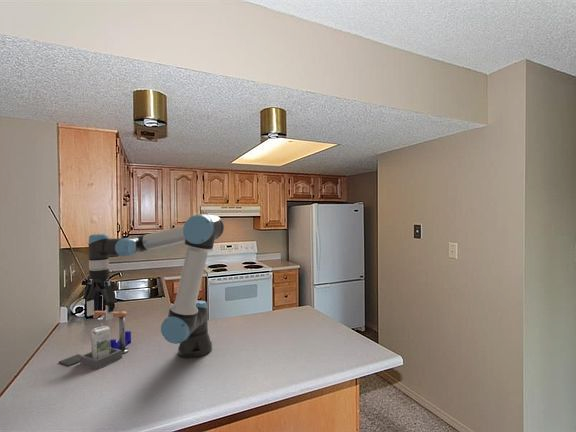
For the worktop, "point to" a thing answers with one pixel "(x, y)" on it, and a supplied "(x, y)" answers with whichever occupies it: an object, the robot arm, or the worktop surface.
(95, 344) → the syrup box
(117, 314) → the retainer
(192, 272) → the robot arm
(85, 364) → the cradle
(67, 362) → the pad
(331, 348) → the worktop surface
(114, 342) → the blue stepped block
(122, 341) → the post
